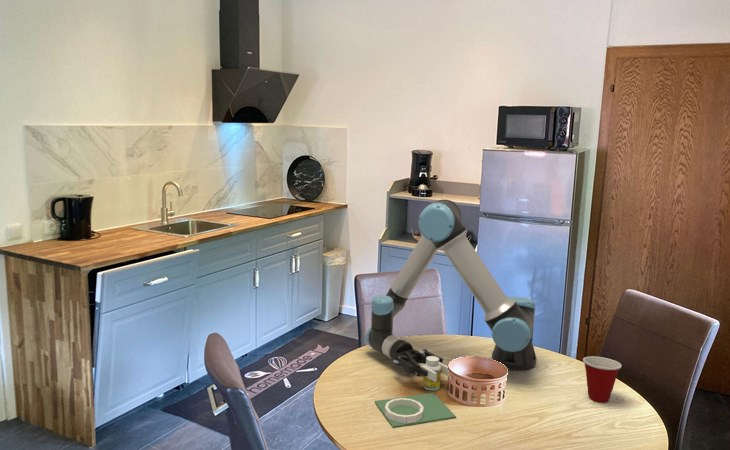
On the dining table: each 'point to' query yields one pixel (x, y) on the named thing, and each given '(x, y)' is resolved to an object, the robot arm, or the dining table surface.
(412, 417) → the segmented ring wall
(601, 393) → the plastic cup
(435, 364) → the supplement bottle
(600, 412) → the dining table surface
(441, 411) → the putting mat
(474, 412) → the dining table surface
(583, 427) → the dining table surface
